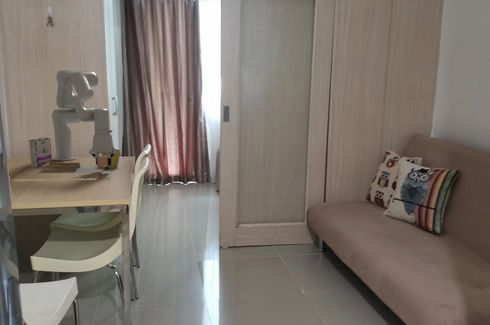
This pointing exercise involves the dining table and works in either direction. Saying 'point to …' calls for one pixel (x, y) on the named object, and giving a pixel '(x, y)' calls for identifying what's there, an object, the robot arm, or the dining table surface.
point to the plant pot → (113, 159)
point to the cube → (102, 161)
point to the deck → (78, 170)
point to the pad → (105, 173)
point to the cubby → (60, 167)
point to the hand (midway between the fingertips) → (103, 165)
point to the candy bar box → (40, 152)
